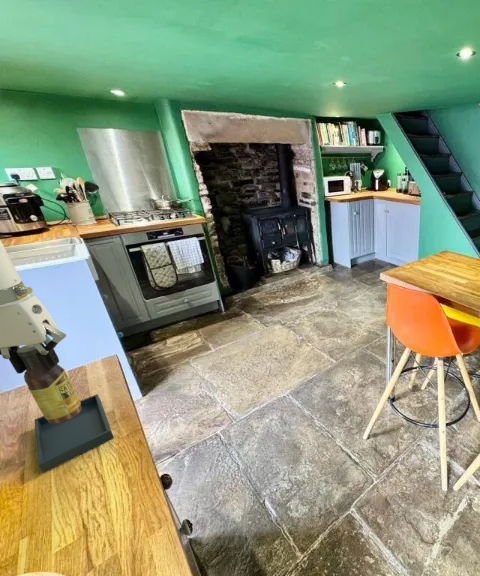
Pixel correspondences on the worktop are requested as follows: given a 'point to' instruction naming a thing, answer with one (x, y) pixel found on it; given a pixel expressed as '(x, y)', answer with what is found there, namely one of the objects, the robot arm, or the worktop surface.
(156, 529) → the worktop surface
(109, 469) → the worktop surface
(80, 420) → the tray
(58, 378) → the sauce bottle
